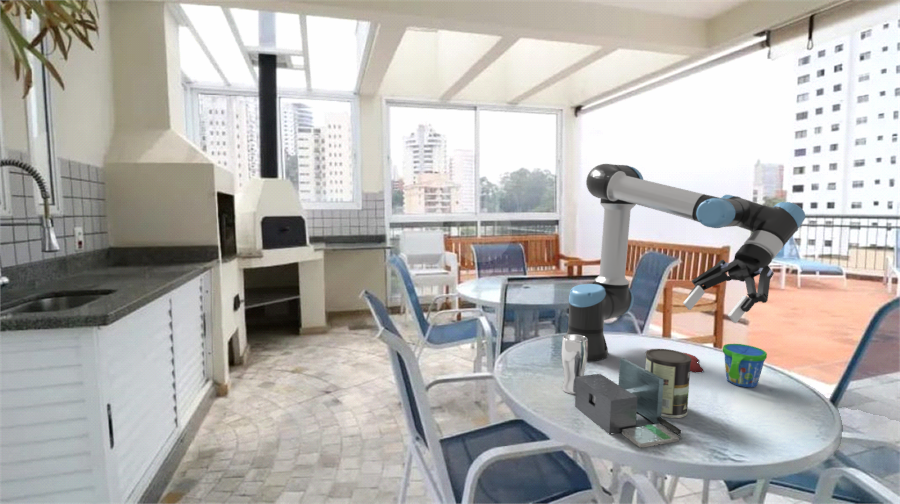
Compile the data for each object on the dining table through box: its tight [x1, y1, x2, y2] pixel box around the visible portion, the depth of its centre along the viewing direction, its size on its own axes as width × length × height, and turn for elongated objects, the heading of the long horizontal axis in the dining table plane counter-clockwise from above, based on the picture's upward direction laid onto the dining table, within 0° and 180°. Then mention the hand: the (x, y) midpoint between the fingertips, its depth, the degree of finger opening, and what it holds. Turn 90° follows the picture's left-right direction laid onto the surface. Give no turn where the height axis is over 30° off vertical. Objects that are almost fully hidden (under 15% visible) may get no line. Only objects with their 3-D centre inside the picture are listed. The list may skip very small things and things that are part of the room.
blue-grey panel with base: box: [592, 357, 682, 435], centre depth 104 cm, size 20×13×11 cm, turn 16°
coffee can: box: [644, 348, 692, 419], centre depth 110 cm, size 10×10×14 cm
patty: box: [683, 352, 704, 373], centre depth 144 cm, size 18×14×2 cm
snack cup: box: [722, 343, 768, 388], centre depth 127 cm, size 16×10×10 cm
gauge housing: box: [574, 373, 682, 449], centre depth 104 cm, size 20×14×8 cm, turn 16°
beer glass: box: [561, 333, 588, 395], centre depth 121 cm, size 7×7×15 cm
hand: (707, 312), depth 111 cm, fingers open, 13 cm apart
